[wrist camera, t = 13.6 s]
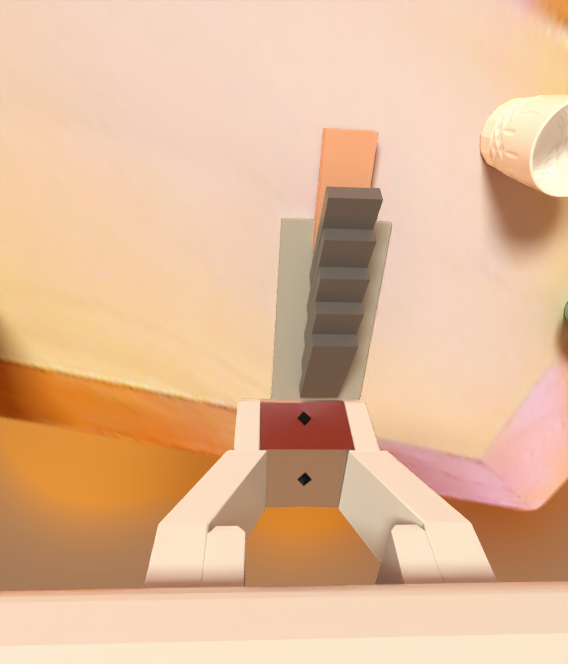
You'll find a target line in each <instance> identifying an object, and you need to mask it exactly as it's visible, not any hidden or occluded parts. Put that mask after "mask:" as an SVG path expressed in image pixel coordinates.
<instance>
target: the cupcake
mask: <svg viewBox="0 0 568 664" xmlns="http://www.w3.org/2000/svg"><path fill="white" fill-rule="evenodd" d="M564 314H565V317H566V319H567V321H568V303H567V304H566V306H565V310H564Z"/></svg>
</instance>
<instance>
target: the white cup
mask: <svg viewBox="0 0 568 664" xmlns="http://www.w3.org/2000/svg"><path fill="white" fill-rule="evenodd" d="M480 151H481V153H482V155H483V157H484V159H485V161H486V163H487V164H488V165H490V166H492V167H494V168H495V169H497V170H499V171H501V172H502V173H503V174H505V175H507V176H509V177H511V178H513V179H515V180H517V181H519V182H521V183H523V184H525V185H527V186H529V187H532V188H534V189H536V190H538V191H541V192H543V193H545V194H547V195H550V196H553V197H568V94H554V95H542V96H534V97H530V98H514V99H512V100H510V101H508V102H506V103H504V104H502V105H500V106H499V107H498V108H497V109H496V110H495V111H494V112H493V113H492V115H491V116H490V117H489V118H488V119H487V121H486V123H485V126H484V128H483V131H482V133H481V136H480Z"/></svg>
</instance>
